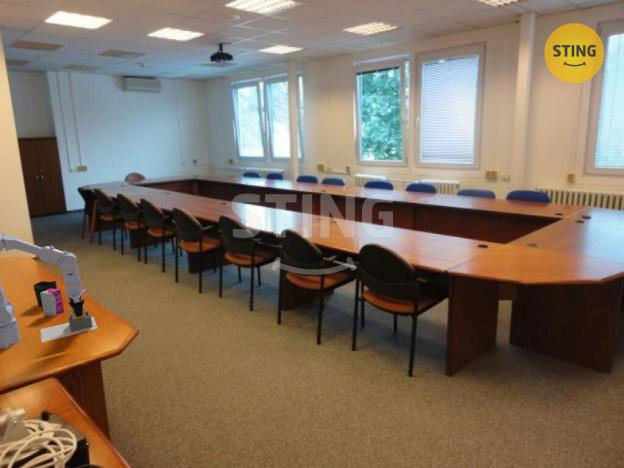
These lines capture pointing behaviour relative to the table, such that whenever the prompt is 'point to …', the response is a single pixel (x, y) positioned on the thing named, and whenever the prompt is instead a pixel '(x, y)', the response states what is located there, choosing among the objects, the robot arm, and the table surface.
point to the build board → (62, 331)
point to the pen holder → (43, 289)
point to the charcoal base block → (80, 322)
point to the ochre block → (75, 315)
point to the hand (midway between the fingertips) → (78, 313)
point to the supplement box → (52, 302)
